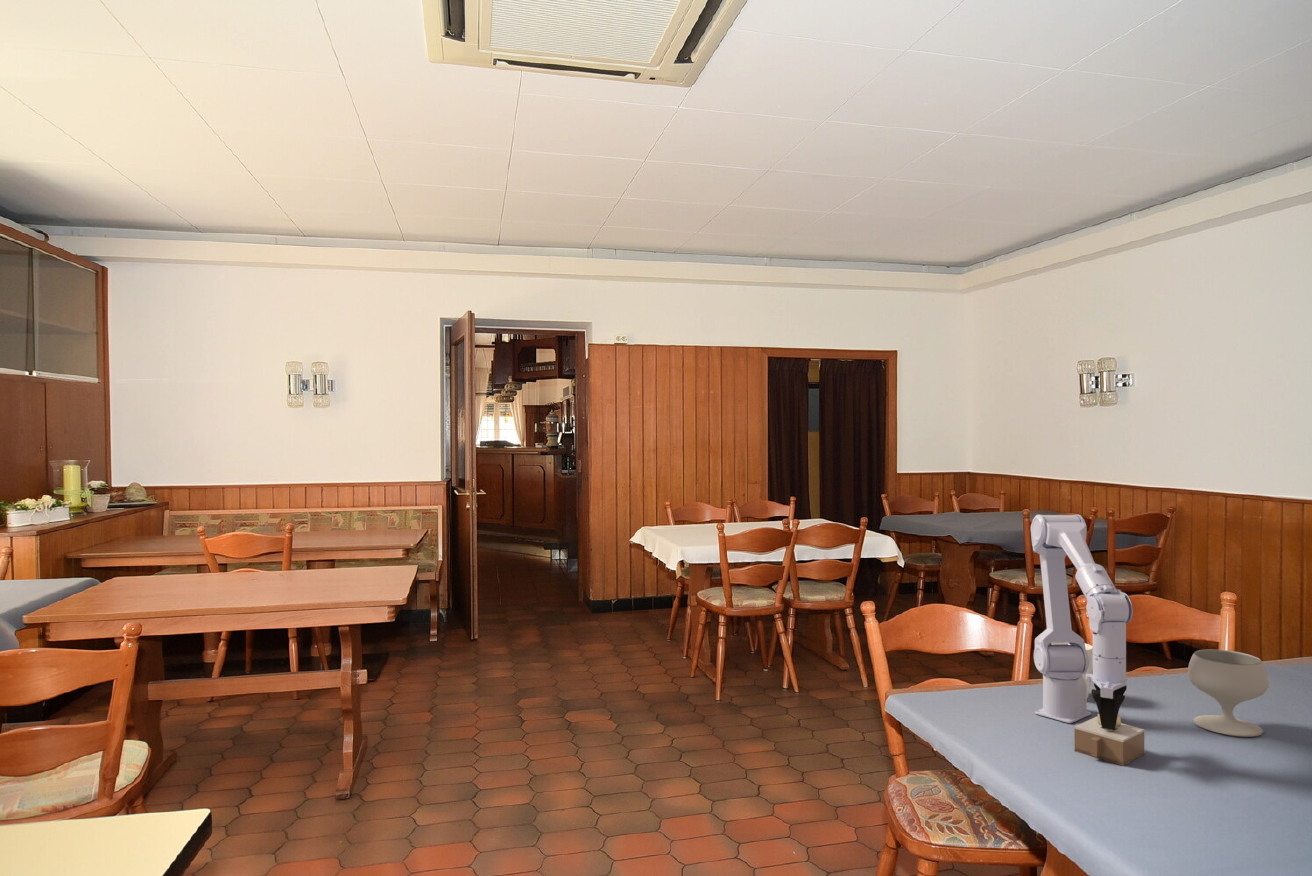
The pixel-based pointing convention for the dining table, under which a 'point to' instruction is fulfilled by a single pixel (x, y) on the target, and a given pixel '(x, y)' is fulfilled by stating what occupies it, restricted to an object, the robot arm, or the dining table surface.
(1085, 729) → the tan box
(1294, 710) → the dining table surface
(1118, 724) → the plunger
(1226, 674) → the chalice
